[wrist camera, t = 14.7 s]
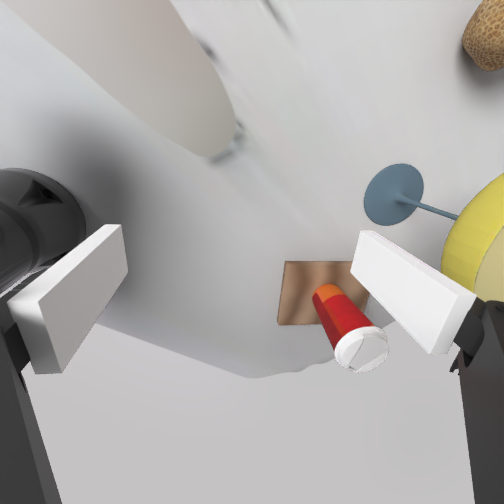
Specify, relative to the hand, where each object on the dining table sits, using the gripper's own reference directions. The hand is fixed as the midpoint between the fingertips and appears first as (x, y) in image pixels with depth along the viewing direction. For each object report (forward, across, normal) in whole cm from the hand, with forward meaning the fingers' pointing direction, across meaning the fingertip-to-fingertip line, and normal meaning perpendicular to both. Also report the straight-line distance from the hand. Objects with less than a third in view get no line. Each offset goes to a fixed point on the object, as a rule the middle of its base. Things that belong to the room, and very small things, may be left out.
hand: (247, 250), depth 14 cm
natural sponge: (+29, +34, +21) cm, 49 cm away
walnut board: (+29, +20, -22) cm, 41 cm away
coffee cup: (+27, +20, -22) cm, 40 cm away
